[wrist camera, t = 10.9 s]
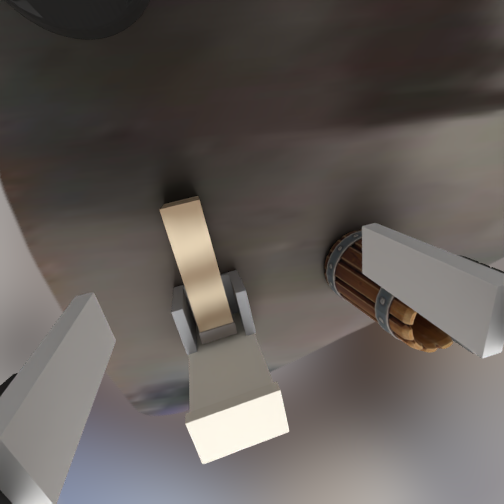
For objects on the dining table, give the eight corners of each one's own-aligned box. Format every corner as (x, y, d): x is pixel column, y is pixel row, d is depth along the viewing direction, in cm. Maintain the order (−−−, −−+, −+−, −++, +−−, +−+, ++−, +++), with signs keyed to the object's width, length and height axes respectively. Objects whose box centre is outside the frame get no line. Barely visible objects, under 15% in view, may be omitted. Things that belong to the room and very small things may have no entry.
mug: (307, 272, 39) (375, 337, 25) (355, 212, 37) (455, 245, 23) (373, 319, 44) (457, 393, 31) (417, 269, 43) (526, 322, 29)
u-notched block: (172, 287, 35) (164, 374, 21) (237, 269, 36) (269, 339, 22) (196, 355, 39) (202, 464, 25) (253, 337, 40) (289, 431, 26)
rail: (163, 204, 31) (158, 210, 26) (199, 195, 32) (200, 199, 27) (200, 321, 36) (202, 344, 31) (231, 312, 37) (237, 333, 32)
